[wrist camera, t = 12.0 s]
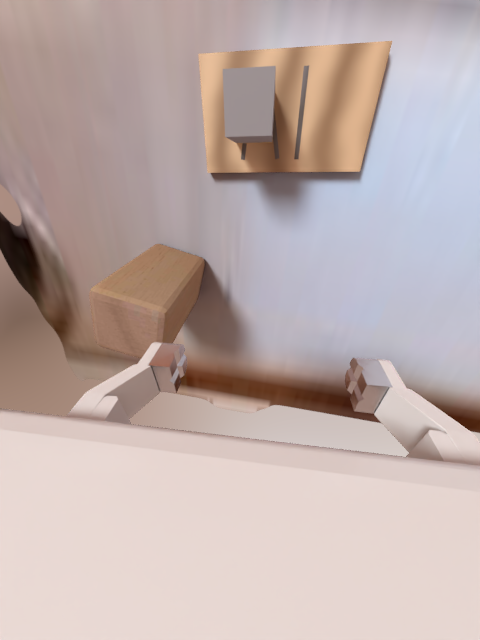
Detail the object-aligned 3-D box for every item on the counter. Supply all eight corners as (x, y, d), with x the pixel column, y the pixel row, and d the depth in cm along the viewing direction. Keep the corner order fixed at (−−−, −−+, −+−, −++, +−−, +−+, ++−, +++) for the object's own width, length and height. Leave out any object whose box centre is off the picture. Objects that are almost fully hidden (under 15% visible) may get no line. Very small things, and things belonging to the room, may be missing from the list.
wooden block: (153, 285, 48) (92, 347, 32) (156, 240, 42) (83, 288, 26) (198, 299, 49) (160, 367, 33) (207, 257, 43) (166, 313, 27)
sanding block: (275, 91, 28) (275, 65, 21) (272, 142, 31) (271, 135, 23) (235, 93, 28) (222, 69, 21) (236, 143, 31) (225, 136, 24)
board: (386, 46, 26) (392, 40, 25) (356, 171, 33) (359, 171, 31) (201, 58, 28) (198, 53, 27) (209, 172, 35) (207, 172, 34)
